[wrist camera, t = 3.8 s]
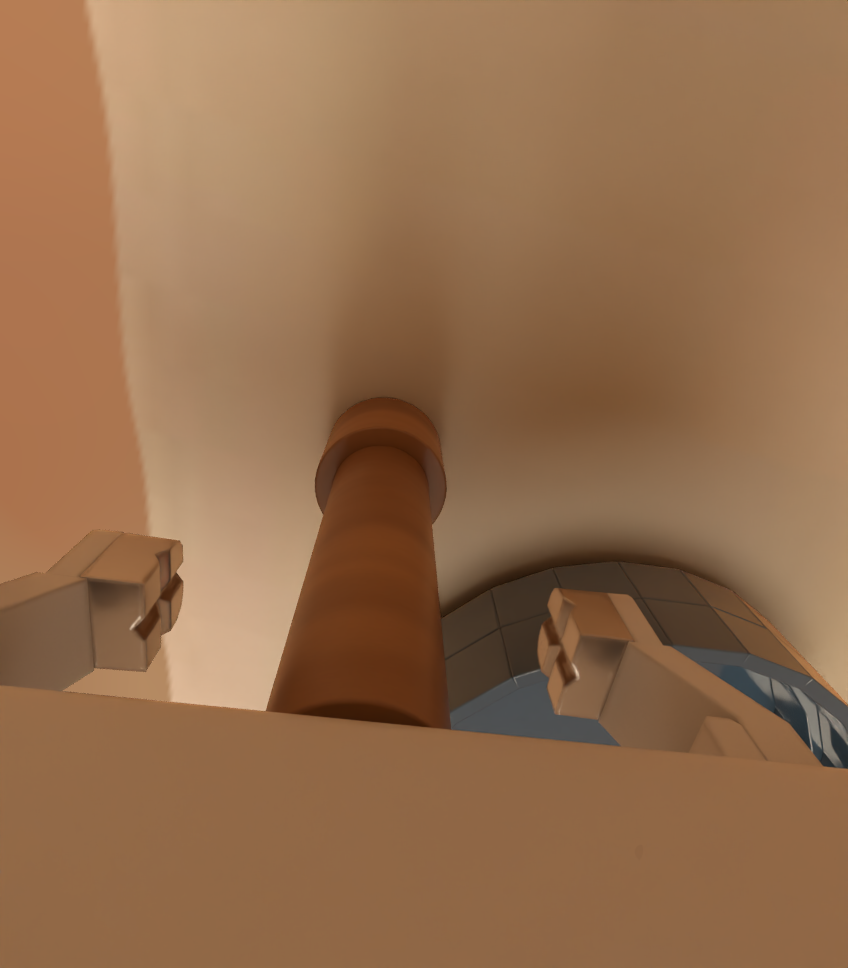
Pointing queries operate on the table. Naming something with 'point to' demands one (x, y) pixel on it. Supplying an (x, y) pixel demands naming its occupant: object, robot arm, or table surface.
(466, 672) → the bowl
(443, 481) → the wooden pepper mill
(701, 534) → the table surface
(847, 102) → the table surface
